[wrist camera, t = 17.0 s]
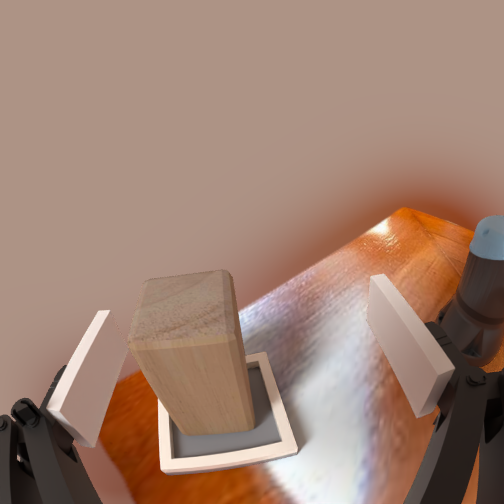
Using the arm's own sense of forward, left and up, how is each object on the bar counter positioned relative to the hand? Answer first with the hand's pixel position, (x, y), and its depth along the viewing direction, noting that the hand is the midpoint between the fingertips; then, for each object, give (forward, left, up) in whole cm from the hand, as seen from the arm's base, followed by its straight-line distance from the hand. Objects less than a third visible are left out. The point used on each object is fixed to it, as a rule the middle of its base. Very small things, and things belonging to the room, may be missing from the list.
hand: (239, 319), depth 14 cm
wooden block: (+4, -11, -27) cm, 30 cm away
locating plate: (+4, -10, -28) cm, 30 cm away
